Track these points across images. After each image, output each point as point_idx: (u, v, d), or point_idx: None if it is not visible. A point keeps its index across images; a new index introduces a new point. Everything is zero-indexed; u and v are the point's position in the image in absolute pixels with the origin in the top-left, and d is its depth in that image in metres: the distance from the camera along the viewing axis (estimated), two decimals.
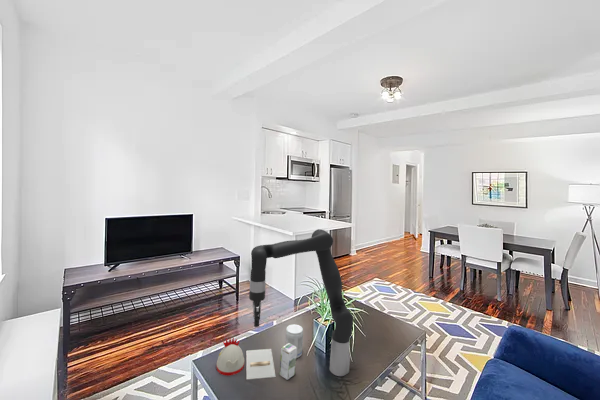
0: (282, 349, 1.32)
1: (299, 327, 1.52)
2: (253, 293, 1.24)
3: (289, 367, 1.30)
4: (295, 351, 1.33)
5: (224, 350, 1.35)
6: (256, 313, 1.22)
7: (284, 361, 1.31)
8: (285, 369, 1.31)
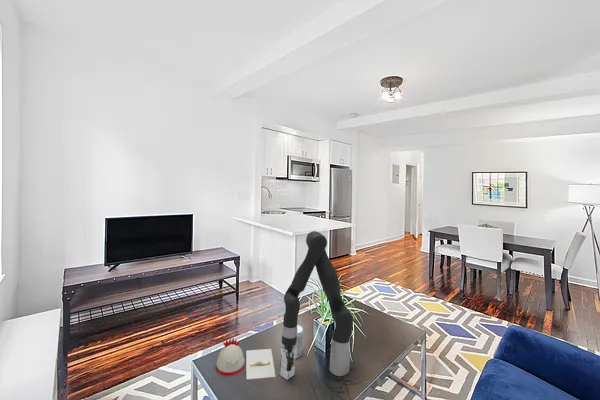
0: (282, 349, 1.32)
1: (299, 327, 1.52)
2: (286, 338, 1.29)
3: None
4: (295, 351, 1.33)
5: (224, 350, 1.35)
6: (289, 359, 1.27)
7: (284, 361, 1.31)
8: (285, 369, 1.31)
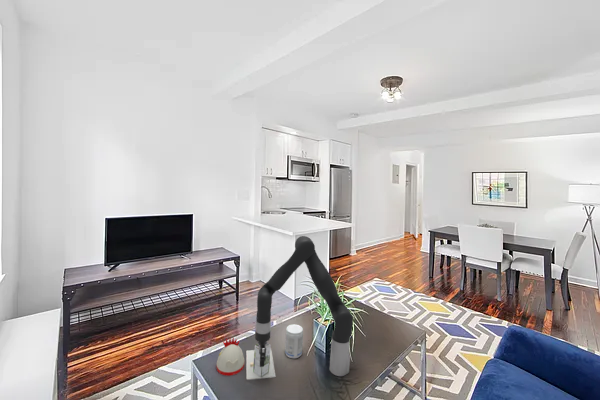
0: (256, 346, 1.33)
1: (299, 327, 1.52)
2: (259, 334, 1.30)
3: None
4: (269, 348, 1.33)
5: (224, 350, 1.35)
6: (262, 354, 1.27)
7: (258, 358, 1.32)
8: (259, 367, 1.31)
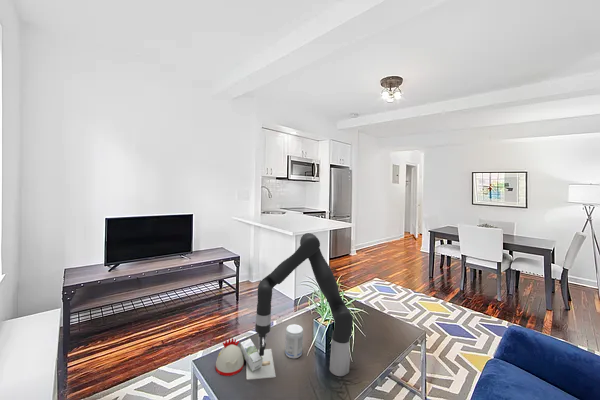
0: None
1: (299, 327, 1.52)
2: (259, 326, 1.30)
3: (248, 353, 1.37)
4: (249, 341, 1.44)
5: (223, 350, 1.35)
6: (261, 347, 1.29)
7: (244, 354, 1.39)
8: (248, 358, 1.36)
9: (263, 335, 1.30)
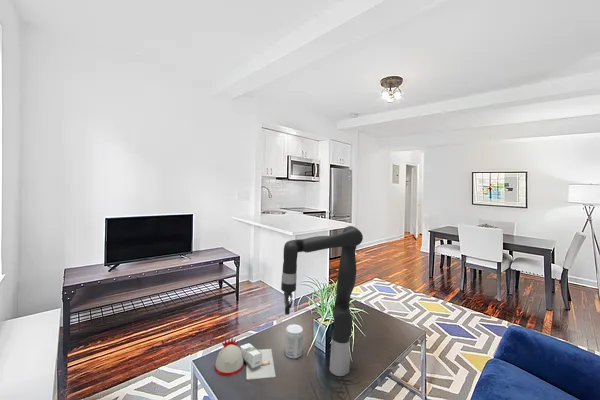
0: None
1: (299, 327, 1.52)
2: (286, 284, 1.33)
3: (247, 351, 1.40)
4: (248, 344, 1.47)
5: (223, 350, 1.35)
6: (288, 305, 1.32)
7: (244, 355, 1.41)
8: (248, 355, 1.38)
9: (289, 293, 1.33)
